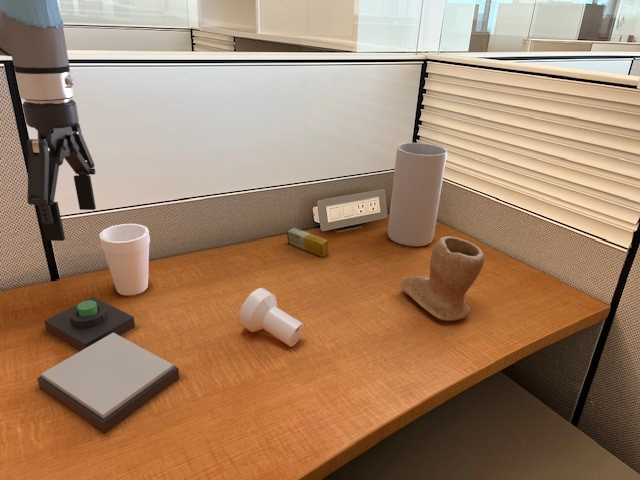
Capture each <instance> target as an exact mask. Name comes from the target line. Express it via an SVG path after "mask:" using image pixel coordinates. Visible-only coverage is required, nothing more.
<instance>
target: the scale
mask: <svg viewBox="0 0 640 480" xmlns="http://www.w3.org/2000/svg"><path fill="white" fill-rule="evenodd" d="M179 378H180V371H179V367H178V366H176V365H174V364H173V363H171V362H170V361H168V360H166V359H164V358H163V357H160V356H158V355H157V354H155V353H153V352H151V351H149V350H147V349H145V348H144V347H142V346H139V345H138V344H136V343H134V342H132V341H130V340H128V339H126V338H125V337H123V336H122V335H121V336H119V335H117V334H115V333H111V334H110V335H108V336H106V337H104V338H103V339H101V340H99V341H97V342H96V343H94V344H92V345H90V346H89V347H87V348H85V349H83V350H82V351H80V350H79V351H78V352H76V353H75V354H72V355H71V356H69V357H68V358H65V359H64V360H62V361H61V362H59V363H57V364H55V365H54V366H52V367H50V368H49V369H47V370H45V371H43V372H41V373H40V376H39V377H37V378H36V380H37V383H38V387H39V389H41V390H42V391H43V392H44V393H46V394H47V395H49V396H50V397H52V398H53V399H55V400H56V401H58V402H59V403H61V404H62V405H63V406H65V407H66V408H68V409H69V410H71V411H72V412H74V413H75V414H77V415H78V416H79V417H80V418H82V419H84V420H85V421H87V422H88V423H90V424H91V425H93V426H94V427H95V428H97V429H98V430H100V431H101V432H103V433H104V434H106V433H107V432H109V431H110V430H111V429H112V428H114V427H115V426H117V425H118V424H119V423H120V422H122V421H123V420H124V419H126V418H127V417H128V416H130V415H131V414H133V413H134V412H135V411H136V410H138V409H140V407H142V406H144V405H145V404H146V403H147V402H148V401H150V400H151V399H153V398H154V397H155V396H157V395H158V394H159V393H160V392H162V391H163V390H164V389H166V388H167V387H168V386H170V385H171V384H172V383H174V382H176V381H177V380H178V379H179Z"/></svg>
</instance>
